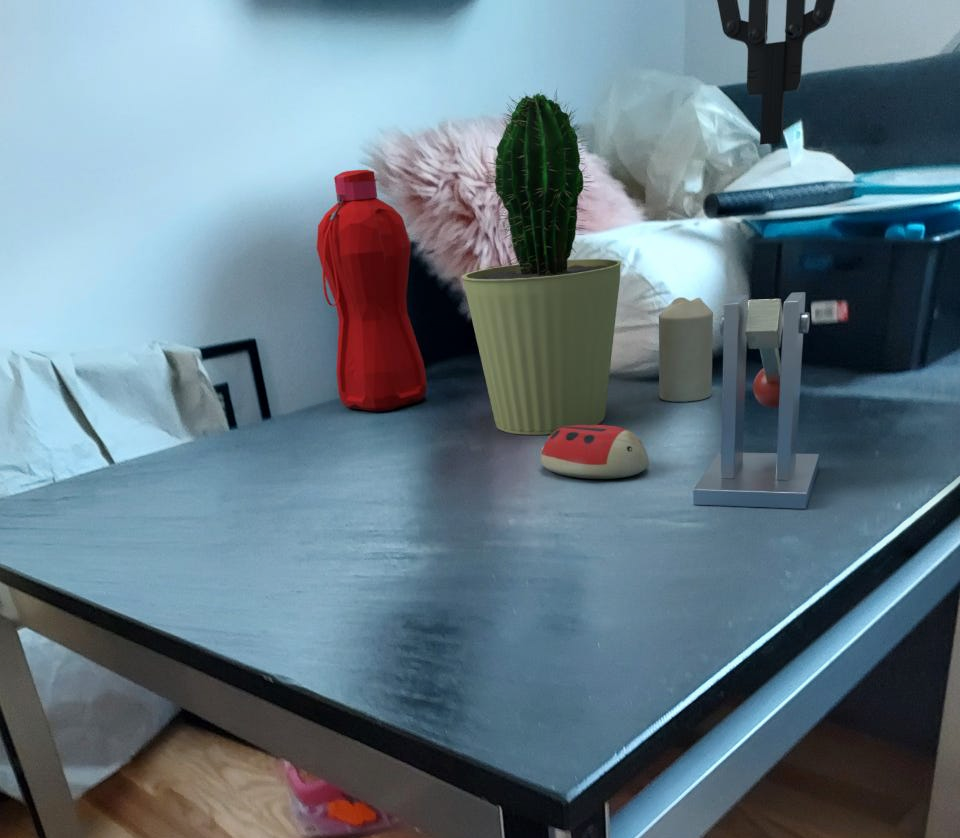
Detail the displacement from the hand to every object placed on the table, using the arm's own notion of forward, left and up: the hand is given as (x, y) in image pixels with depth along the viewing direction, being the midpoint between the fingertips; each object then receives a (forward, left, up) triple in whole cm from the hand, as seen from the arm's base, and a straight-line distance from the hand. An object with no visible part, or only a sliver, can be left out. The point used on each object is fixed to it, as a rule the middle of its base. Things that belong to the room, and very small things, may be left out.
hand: (771, 143), depth 73 cm
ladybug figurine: (+1, +15, -24) cm, 28 cm away
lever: (-7, +4, -16) cm, 18 cm away
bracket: (-10, +6, -24) cm, 26 cm away
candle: (+21, -4, -24) cm, 32 cm away
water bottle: (+40, +26, -24) cm, 54 cm away
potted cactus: (+20, +12, -24) cm, 33 cm away
